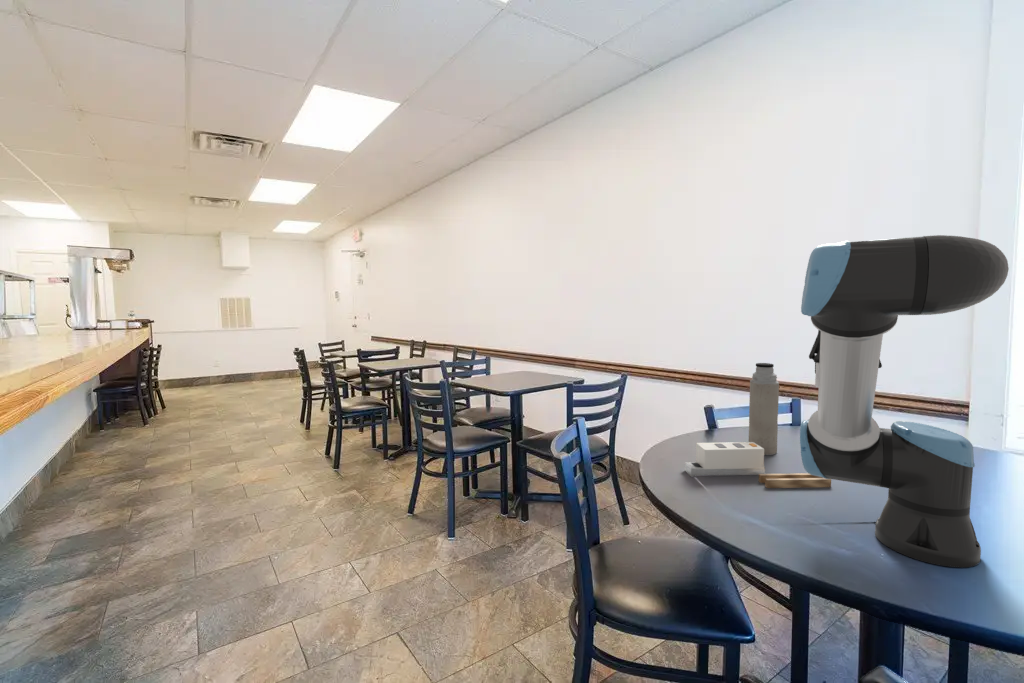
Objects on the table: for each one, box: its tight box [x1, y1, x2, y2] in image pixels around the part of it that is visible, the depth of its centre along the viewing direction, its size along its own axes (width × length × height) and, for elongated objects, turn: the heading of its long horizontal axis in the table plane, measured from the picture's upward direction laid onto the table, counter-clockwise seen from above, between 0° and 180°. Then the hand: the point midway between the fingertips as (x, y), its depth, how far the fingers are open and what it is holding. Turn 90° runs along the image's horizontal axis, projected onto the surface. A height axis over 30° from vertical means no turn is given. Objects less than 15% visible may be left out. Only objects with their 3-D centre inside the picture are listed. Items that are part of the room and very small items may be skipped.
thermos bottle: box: [748, 362, 780, 456], centre depth 143 cm, size 8×8×28 cm
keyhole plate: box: [684, 461, 766, 478], centre depth 127 cm, size 5×20×2 cm, turn 89°
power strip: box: [695, 441, 765, 469], centre depth 126 cm, size 16×6×8 cm, turn 89°
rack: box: [758, 472, 832, 489], centre depth 117 cm, size 16×4×2 cm, turn 89°
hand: (840, 391), depth 114 cm, fingers open, 13 cm apart
